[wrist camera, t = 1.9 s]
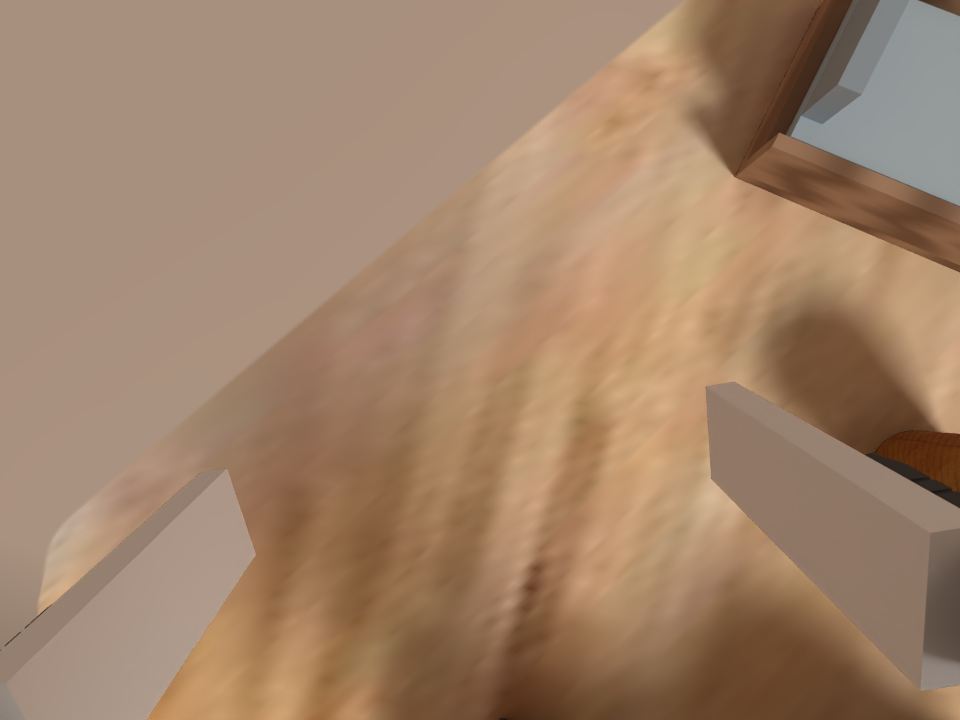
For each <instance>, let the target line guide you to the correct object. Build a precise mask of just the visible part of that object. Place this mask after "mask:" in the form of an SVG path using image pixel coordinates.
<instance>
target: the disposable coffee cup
mask: <svg viewBox="0 0 960 720" xmlns="http://www.w3.org/2000/svg"><path fill="white" fill-rule="evenodd" d="M875 454H876V455H880V456H883V457H886V458H889V459H893V460H896V461H899V462H902V463H905V464H907V465H909V466H911V467H913V468H915V469H916V470H918V471H920V472H922V473H924V474H926V475H928V476H930V479H931V480H934V479H935V480H937V481H939V482H941V483H943V484H945V485H947V486H949V487H950V488H952V491H953V492H954V491H958V492H960V434H956V433H941V432H927V431H906V432H901V433H899V434H896V435H894V436H892V437H891V438H889V439H888V440H886V441H885V442H884V443H883V444H882V445H881V446H880V447H879V448H878V450H877V451H876V453H875Z"/></svg>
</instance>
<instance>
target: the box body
mask: <svg viewBox="0 0 960 720" xmlns="http://www.w3.org/2000/svg"><path fill="white" fill-rule="evenodd" d="M852 1H853V0H825V1H824V2H823V3H822V4H821V5H820V6H819V8H818V10H817V12H816V14H815V16H814V18H813V20H812V22H811V24H810V26H809V28H808V30H807V32H806V34H805V36H804V38H803V40H802V42H801V44H800V46H799V48H798V50H797V52H796V54H795V56H794V58H793V60H792V62H791V65H790V67H789V69H788V71H787V73H786V75H785V77H784V79H783V81H782V83H781V85H780V87H779V89H778V91H777V93H776V95H775V97H774V99H773V101H772V103H771V105H770V107H769V109H768V111H767V113H766V115H765V117H764V119H763V121H762V123H761V125H760V127H759V129H758V131H757V133H756V135H755V138H754V140H753V142H752V144H751V146H750V148H749V150H748V152H747V154H746V156H745V158H744V160H743V162H742V164H741V166H740V168H739V170H738V172H737V174H736V176H735V177H736V178H738V179H740V180H743V181H745V182H748V183H750V184H752V185H755V186H757V187H759V188H762V189H764V190H766V191H769V192H771V193H774V194H776V195H778V196H781V197H783V198H785V199H788V200H790V201H793V202H795V203H797V204H800V205H802V206H804V207H807V208H809V209H811V210H814V211H816V212H819V213H821V214H823V215H826V216H828V217H830V218H833V219H835V220H837V221H840V222H842V223H845V224H847V225H849V226H852V227H854V228H856V229H859V230H861V231H863V232H866V233H868V234H871V235H873V236H875V237H878V238H880V239H882V240H885V241H887V242H889V243H892V244H894V245H897V246H899V247H901V248H904V249H906V250H908V251H911V252H913V253H915V254H918V255H920V256H923V257H925V258H927V259H930V260H932V261H934V262H937V263H939V264H942V265H944V266H946V267H949V268H951V269H953V270H956V271H958V272H960V207H959V206H956V205H954V204H951V203H949V202H946V201H944V200H942V199H939V198H937V197H934V196H932V195H929V194H927V193H925V192H922V191H920V190H917V189H915V188H912V187H910V186H908V185H905V184H903V183H900V182H898V181H895V180H893V179H891V178H888V177H886V176H883V175H881V174H878V173H876V172H874V171H871V170H869V169H866V168H864V167H861V166H859V165H857V164H854V163H852V162H849V161H847V160H844V159H842V158H840V157H837V156H835V155H832V154H830V153H828V152H825V151H823V150H820V149H818V148H815V147H813V146H811V145H808V144H806V143H803V142H801V141H798V140H796V139H794V138H791V137H789V136H786V134H787V132H788V130H789V128H790V126H791V124H792V122H793V120H794V118H795V116H796V114H797V112H798V110H799V108H800V106H801V104H802V102H803V100H804V98H805V96H806V94H807V92H808V90H809V88H810V86H811V84H812V82H813V80H814V78H815V76H816V74H817V72H818V70H819V68H820V66H821V64H822V62H823V60H824V58H825V56H826V54H827V52H828V50H829V48H830V46H831V44H832V42H833V40H834V38H835V36H836V34H837V31H838V29H839V27H840V25H841V23H842V21H843V19H844V17H845V15H846V13H847V11H848V9H849V7H850V5H851V3H852ZM918 1H921V2H924V3H926V4H929V5H932V6H934V7H937V8H939V9H942V10H945V11H947V12H950V13H953V14H955V15H958V16H960V0H918Z"/></svg>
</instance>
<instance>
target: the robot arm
mask: <svg viewBox="0 0 960 720" xmlns="http://www.w3.org/2000/svg"><path fill="white" fill-rule="evenodd" d="M706 402H707V418H708V434H709V451H710V467H711V479H712V480H713V481H714V482H715V483H716V484H717V485H718V486H719V487H720V488H721V489H722V490H723V491H724V492H725V493H726V494H727V495H728V496H729V497H730V498H731V499H732V500H733V501H734V502H735V503H736V504H737V506H738V507H739V508H740V509H741V510H742V511H743V512H744V513H745V514H746V515H747V516H748V517H749V518H750V519H751V520H752V521H753V522H754V523H755V524H756V525H757V526H758V527H759V528H760V529H761V530H762V531H763V532H764V533H765V534H766V535H767V536H768V537H769V538H770V539H771V540H772V541H773V542H774V543H775V544H776V545H777V546H778V547H779V548H780V549H781V550H782V551H783V552H784V553H785V554H786V555H787V556H788V557H789V558H790V559H791V560H792V561H793V562H794V563H795V564H796V565H797V567H798V568H799V569H800V570H801V571H802V572H803V573H804V574H805V575H806V576H807V577H808V578H809V579H810V580H811V581H812V582H813V583H814V584H815V585H816V586H817V587H818V588H819V589H820V590H821V591H822V592H823V593H824V594H825V595H826V596H827V597H828V598H829V599H830V600H831V601H832V602H833V603H834V604H835V605H836V606H837V607H838V608H839V609H840V610H841V611H842V612H843V613H844V614H845V615H846V616H847V617H848V618H849V619H850V620H851V621H852V622H853V623H854V624H855V625H856V626H857V627H858V629H859V630H860V631H861V632H862V633H863V634H864V635H865V636H866V637H867V638H868V639H869V640H870V641H871V642H872V643H873V644H874V645H875V646H876V647H877V648H878V649H879V650H880V651H881V652H882V653H883V654H884V655H885V656H886V657H887V658H888V659H889V660H890V661H891V662H892V663H893V664H894V665H895V666H896V667H897V668H898V669H899V670H900V671H901V672H902V673H903V674H904V675H905V676H906V677H907V678H908V679H909V680H910V681H911V682H912V683H913V684H914V685H915V686H916V687H917V688H918V690H919V691H925V690H932V689H938V688H945V687H951V686H957V685H960V492H958V491H954V492H953V491H952V488H950V487H949V486H947V485H945V484H943V483H941V482H939V481H937V480H935V479H934V480H931V479H930V476H928V475H926V474H924V473H922V472H920V471H918V470H916V469H915V468H913V467H911V466H909V465H907V464H905V463H902V462H899V461H896V460H893V459H889V458H886V457H883V456H880V455H876V454H873V453H871V454H865V455H864V454H862V453H860V452H858V451H857V450H855V449H853V448H851V447H850V446H848V445H846V444H844V443H842V442H841V441H839V440H837V439H835V438H833V437H832V436H830V435H828V434H826V433H825V432H823V431H821V430H819V429H817V428H816V427H814V426H812V425H810V424H809V423H807V422H805V421H803V420H801V419H800V418H798V417H796V416H794V415H793V414H791V413H789V412H787V411H785V410H784V409H782V408H780V407H778V406H777V405H775V404H773V403H771V402H769V401H768V400H766V399H764V398H762V397H761V396H759V395H757V394H755V393H753V392H752V391H750V390H748V389H746V388H744V387H743V386H741V385H739V384H737V383H736V382H729V383H724V384H718V385H712V386H706ZM255 555H256V554H255V551H254V548H253V545H252V542H251V539H250V536H249V532H248V529H247V526H246V523H245V520H244V517H243V514H242V511H241V508H240V505H239V502H238V499H237V496H236V493H235V490H234V487H233V484H232V481H231V478H230V475H229V472H228V469H227V468H226V469H220V470H214V471H208V472H203V473H199V474H198V475H197V476H196V477H195V478H194V479H193V480H191V481H190V482H189V483H188V484H187V485H186V486H185V487H184V488H182V489H181V490H180V491H179V492H178V493H177V494H176V495H175V496H173V497H172V498H171V499H170V500H169V501H168V502H167V503H166V504H164V505H163V506H162V507H161V508H160V509H159V510H158V511H157V512H156V513H154V514H153V515H152V516H151V517H150V518H149V519H148V520H147V521H145V522H144V523H143V524H142V525H141V526H140V527H139V528H138V529H136V530H135V531H134V532H133V533H132V534H131V535H130V536H129V537H127V538H126V539H125V540H124V541H123V542H122V543H121V544H120V545H118V546H117V547H116V548H115V549H114V550H113V551H112V552H111V553H109V554H108V555H107V556H106V557H105V558H104V559H103V560H102V561H101V562H99V563H98V564H97V565H96V566H95V567H94V568H93V569H92V570H90V571H89V572H88V573H87V574H86V575H85V576H84V577H83V578H81V579H80V580H79V581H78V582H77V583H76V584H75V585H74V586H72V587H71V588H70V589H69V590H68V591H67V592H66V593H65V594H63V595H62V596H61V597H60V598H59V599H58V600H57V601H56V602H54V603H53V604H52V605H50V606H49V607H48V608H46V609H45V610H44V611H43V612H42V613H41V614H40V615H39V616H37V617H36V618H35V619H34V620H33V621H32V622H31V623H30V624H29V625H27V626H26V627H25V629H24V630H23V631H22V632H20V633H18V634H17V635H16V636H15V637H14V638H13V639H12V640H10V642H8V643H7V644H6V645H5V647H4V648H3V649H2V650H0V720H147V718H148V716H149V715H150V713H151V712H152V710H153V709H154V707H155V706H156V704H157V703H158V701H159V700H160V698H161V697H162V695H163V694H164V692H165V691H166V689H167V688H168V686H169V685H170V683H171V682H172V680H173V679H174V677H175V676H176V674H177V673H178V671H179V670H180V668H181V667H182V665H183V664H184V662H185V661H186V659H187V658H188V656H189V655H190V653H191V652H192V650H193V649H194V647H195V646H196V644H197V643H198V641H199V640H200V638H201V637H202V635H203V634H204V632H205V631H206V629H207V628H208V626H209V625H210V623H211V622H212V620H213V619H214V617H215V615H216V614H217V612H218V611H219V609H220V608H221V606H222V605H223V603H224V602H225V600H226V599H227V597H228V596H229V594H230V593H231V591H232V590H233V588H234V587H235V585H236V584H237V582H238V581H239V579H240V578H241V576H242V575H243V573H244V572H245V570H246V569H247V567H248V566H249V564H250V563H251V561H252V560H253V558H254V557H255Z"/></svg>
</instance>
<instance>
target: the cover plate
mask: <svg viewBox="0 0 960 720" xmlns="http://www.w3.org/2000/svg"><path fill="white" fill-rule="evenodd" d="M786 136H789V137H791V138H794V139H796V140H798V141H801V142H803V143H806V144H808V145H811V146H813V147H815V148H818V149H820V150H823V151H825V152H828V153H830V154H832V155H835V156H837V157H840V158H842V159H844V160H847V161H849V162H852V163H854V164H857V165H859V166H861V167H864V168H866V169H869V170H871V171H874V172H876V173H878V174H881V175H883V176H886V177H888V178H891V179H893V180H895V181H898V182H900V183H903V184H905V185H908V186H910V187H912V188H915V189H917V190H920V191H922V192H925V193H927V194H929V195H932V196H934V197H937V198H939V199H942V200H944V201H946V202H949V203H951V204H954V205H956V206H959V207H960V16H958V15H955V14H953V13H950V12H947V11H945V10H942V9H939V8H937V7H934V6H932V5H929V4H926V3H924V2H921V1H918V0H853V1H852V3H851V5H850V7H849V9H848V11H847V13H846V15H845V17H844V19H843V21H842V23H841V25H840V27H839V29H838V31H837V34H836V36H835V38H834V40H833V42H832V44H831V46H830V48H829V50H828V52H827V54H826V56H825V58H824V60H823V62H822V64H821V66H820V68H819V70H818V72H817V74H816V76H815V78H814V80H813V82H812V84H811V86H810V88H809V90H808V92H807V94H806V96H805V98H804V100H803V102H802V104H801V106H800V108H799V110H798V112H797V114H796V116H795V118H794V120H793V122H792V124H791V126H790V128H789V130H788V132H787V134H786Z"/></svg>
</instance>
